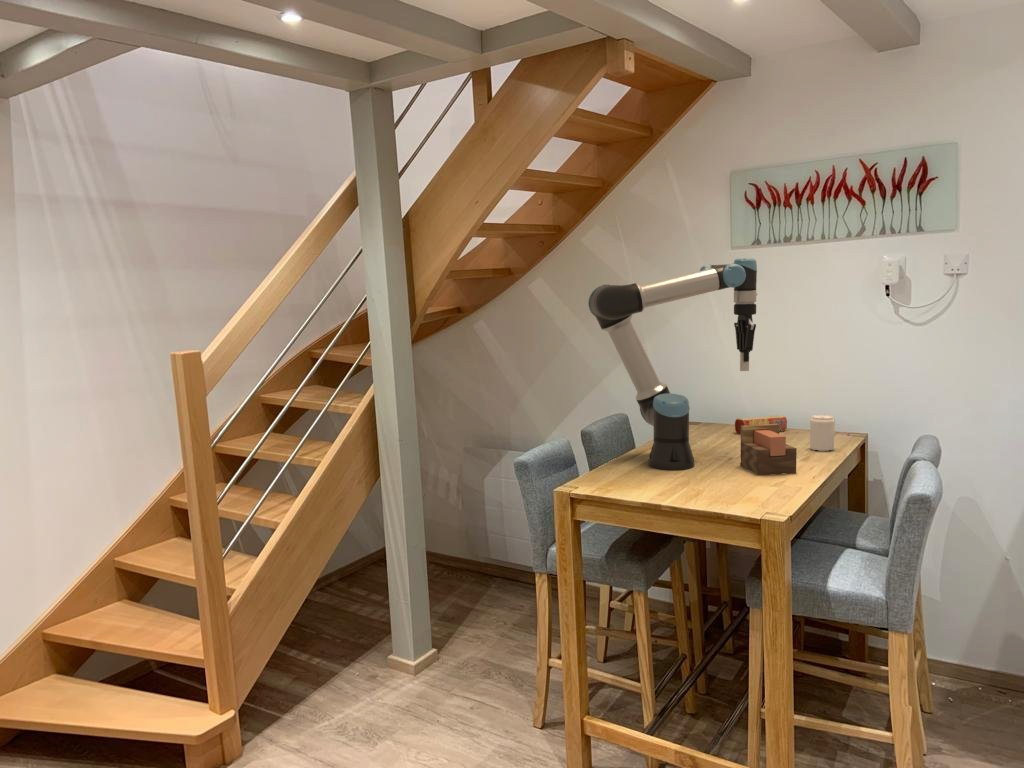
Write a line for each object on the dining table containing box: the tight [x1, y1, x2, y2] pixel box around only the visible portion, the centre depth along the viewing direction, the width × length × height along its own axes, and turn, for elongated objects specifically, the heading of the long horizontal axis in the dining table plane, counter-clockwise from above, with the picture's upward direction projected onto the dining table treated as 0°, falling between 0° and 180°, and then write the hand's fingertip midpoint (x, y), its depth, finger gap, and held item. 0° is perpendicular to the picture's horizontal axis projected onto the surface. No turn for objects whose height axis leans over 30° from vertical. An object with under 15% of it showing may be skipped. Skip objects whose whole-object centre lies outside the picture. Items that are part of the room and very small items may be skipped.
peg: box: [753, 429, 787, 456], centre depth 260 cm, size 14×5×6 cm, turn 8°
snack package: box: [734, 414, 788, 435], centre depth 323 cm, size 21×7×7 cm, turn 110°
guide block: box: [740, 424, 798, 476], centre depth 260 cm, size 14×12×14 cm
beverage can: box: [809, 414, 836, 452], centre depth 287 cm, size 8×8×12 cm
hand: (744, 370), depth 282 cm, fingers closed
